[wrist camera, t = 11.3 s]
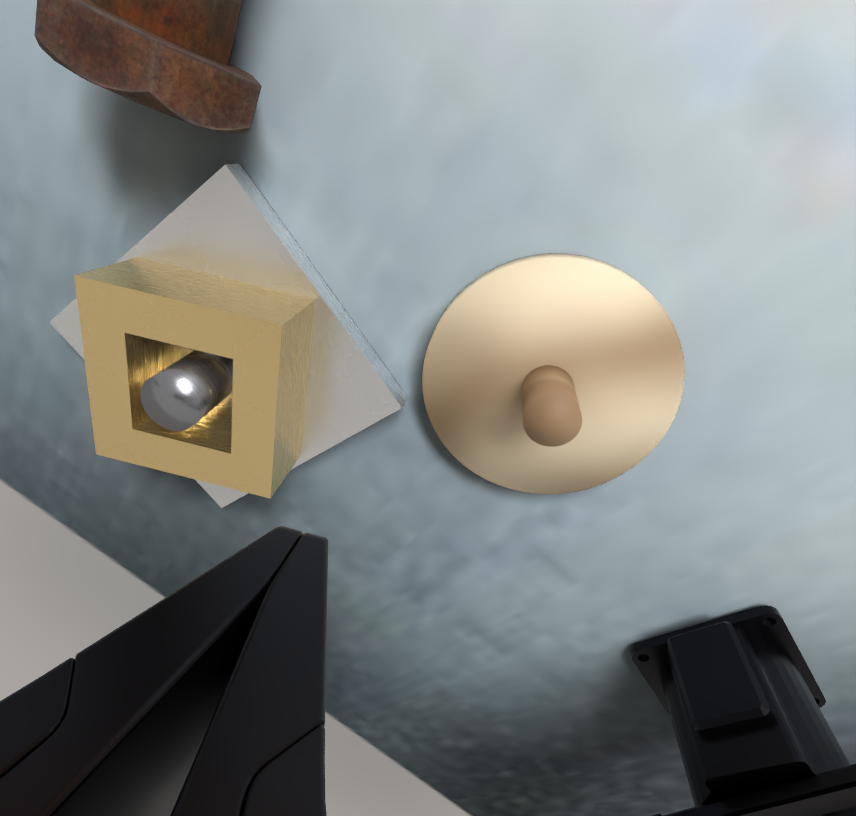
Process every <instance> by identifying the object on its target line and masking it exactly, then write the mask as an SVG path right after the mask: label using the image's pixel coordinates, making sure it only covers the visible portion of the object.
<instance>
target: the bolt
mask: <svg viewBox="0 0 856 816" xmlns="http://www.w3.org/2000/svg"><path fill="white" fill-rule="evenodd" d="M241 6H242V0H37V11H36V25H35V37H36V40H37V42H38V44H39V46H40V47H41V48H42V49H43V50H44V51H45V52H46V53H47V54H48V55H49V56H50V57H51V58H52V59H53V60H54V61H56V62H57V63H59V64H61V65H62V66H64V67H65V68H67V69H68V70H70V71H72V72H73V73H75V74H77V75H78V76H80V77H82V78H84V79H85V80H87V81H89V82H91V83H93V84H96V85H98V86H101V87H103V88H105V89H108V90H110V91H112V92H115V93H117V94H119V95H122V96H124V97H126V98H129V99H131V100H133V101H136V102H138V103H140V104H143V105H145V106H147V107H150V108H153V109H155V110H158V111H160V112H163V113H166V114H168V115H171V116H173V117H176V118H179V119H181V120H184V121H186V122H189V123H192V124H194V125H197V126H199V127H203V128H208V129H212V130H217V131H221V132H226V133H230V134H245V133H247V132H248V131H249V129H250V128H251V124H252V120H253V117H254V113H255V109H256V105H257V101H258V98H259V94H260V90H261V85H260V84H259V82H258V81H257V80H256V79H255V78H254V77H253V76H252V75H250V74H248V73H246V72H244V71H242V70H240V69H238V68H236V67H234V66H232V65H230V64H229V59H230V55H231V50H232V46H233V41H234V37H235V33H236V28H237V24H238V19H239V15H240V10H241Z"/></svg>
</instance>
